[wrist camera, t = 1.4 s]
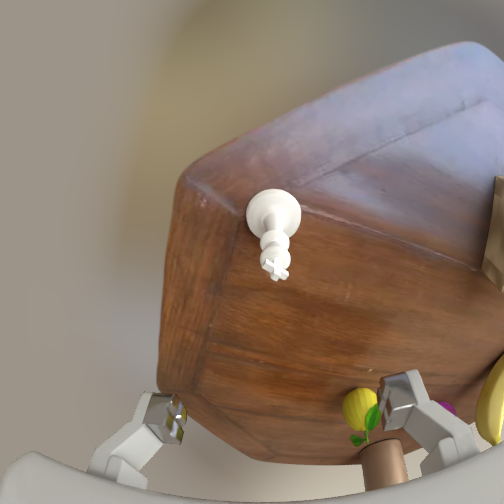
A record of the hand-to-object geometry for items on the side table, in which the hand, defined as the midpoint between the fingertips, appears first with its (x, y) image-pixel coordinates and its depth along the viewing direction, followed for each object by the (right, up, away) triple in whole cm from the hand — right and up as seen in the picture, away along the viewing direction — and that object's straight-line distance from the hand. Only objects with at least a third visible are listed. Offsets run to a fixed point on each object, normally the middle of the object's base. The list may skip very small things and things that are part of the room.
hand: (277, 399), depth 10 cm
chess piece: (+1, +9, +16) cm, 19 cm away
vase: (+29, -40, +41) cm, 64 cm away
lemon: (+15, -15, +29) cm, 35 cm away
